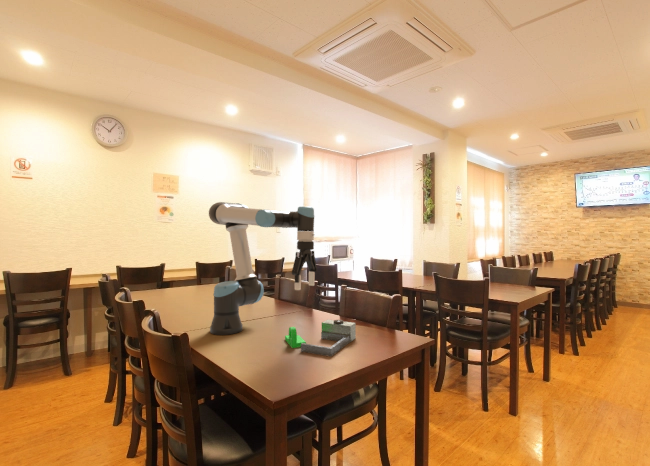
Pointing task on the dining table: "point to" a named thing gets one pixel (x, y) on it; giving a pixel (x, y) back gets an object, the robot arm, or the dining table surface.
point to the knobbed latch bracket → (333, 337)
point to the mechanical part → (294, 338)
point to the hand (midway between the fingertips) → (304, 287)
